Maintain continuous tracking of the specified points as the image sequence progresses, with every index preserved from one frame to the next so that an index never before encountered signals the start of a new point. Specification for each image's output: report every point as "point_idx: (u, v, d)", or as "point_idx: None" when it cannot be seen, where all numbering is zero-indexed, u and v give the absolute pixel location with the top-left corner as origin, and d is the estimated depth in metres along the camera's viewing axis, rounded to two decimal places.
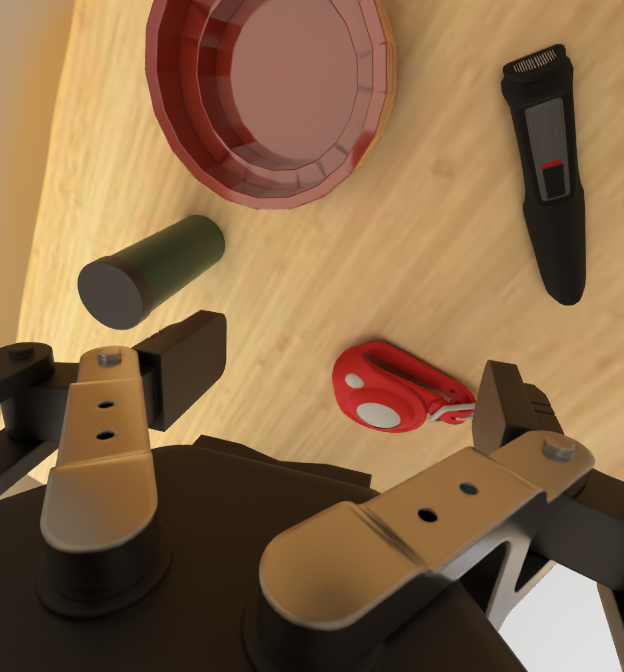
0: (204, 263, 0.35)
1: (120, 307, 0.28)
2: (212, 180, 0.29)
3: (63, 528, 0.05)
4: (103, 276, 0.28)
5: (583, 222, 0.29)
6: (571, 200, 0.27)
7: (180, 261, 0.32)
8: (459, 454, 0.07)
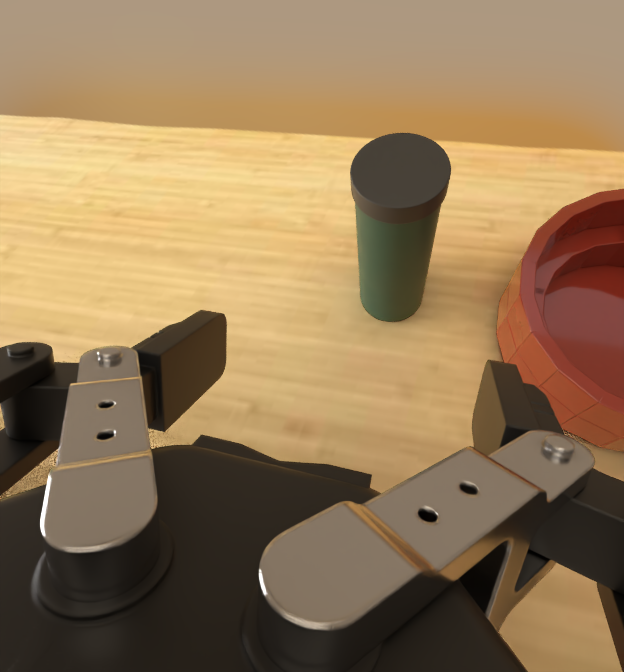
0: (397, 296, 0.28)
1: (392, 182, 0.21)
2: (532, 275, 0.25)
3: (63, 528, 0.05)
4: (427, 157, 0.21)
5: None
6: None
7: (421, 260, 0.25)
8: (459, 454, 0.07)
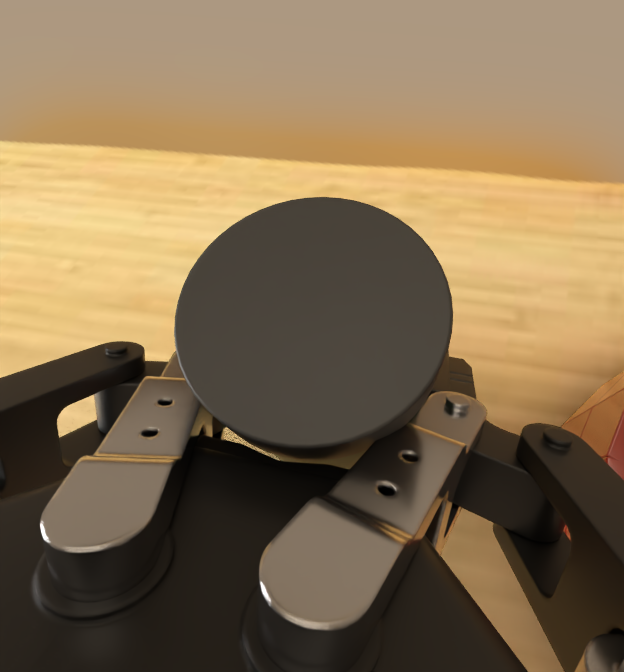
0: None
1: (283, 350, 0.07)
2: None
3: (63, 528, 0.05)
4: (385, 274, 0.08)
5: None
6: None
7: None
8: None
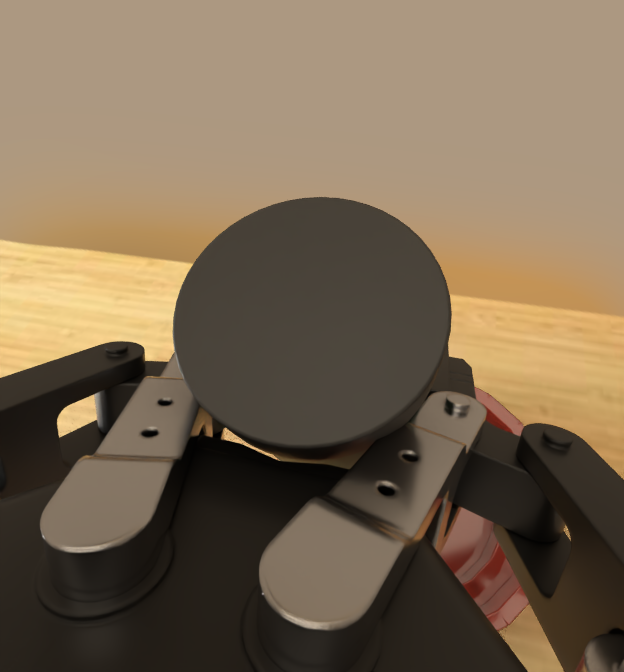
0: None
1: (281, 350, 0.07)
2: None
3: (63, 528, 0.05)
4: (384, 274, 0.08)
5: None
6: None
7: None
8: None
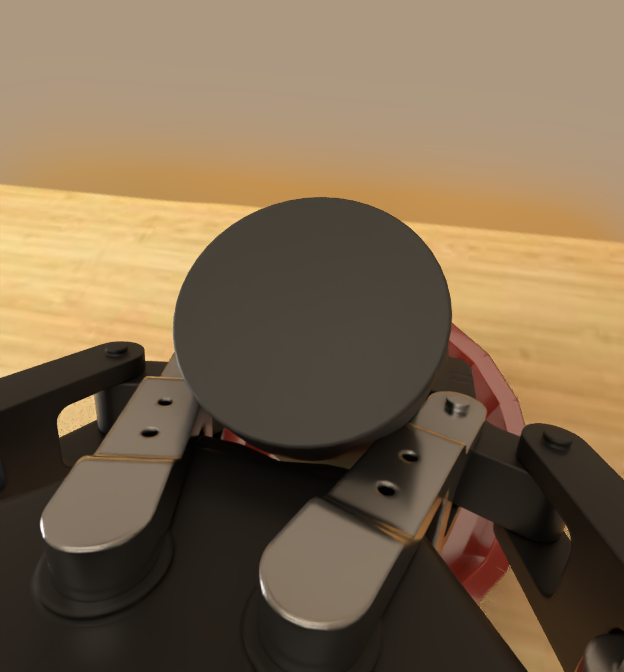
0: None
1: (282, 350, 0.07)
2: None
3: (63, 528, 0.05)
4: (384, 274, 0.08)
5: None
6: None
7: None
8: None
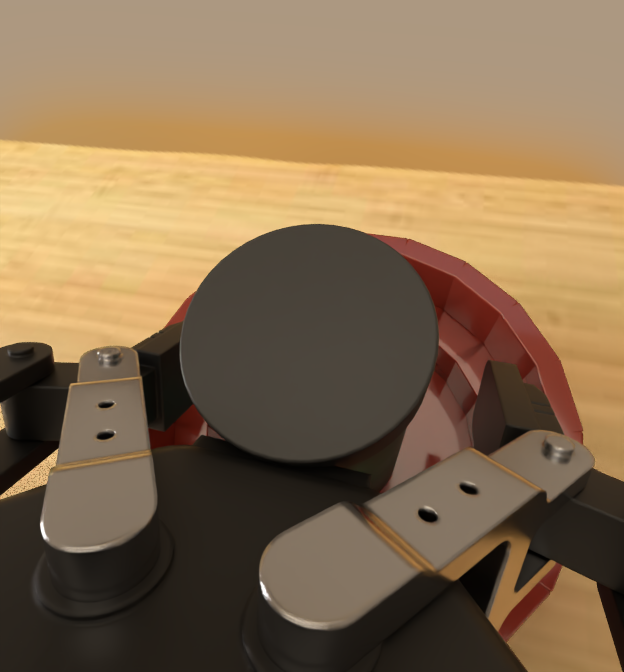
0: None
1: (281, 370, 0.08)
2: None
3: (63, 528, 0.05)
4: (377, 299, 0.08)
5: None
6: None
7: (380, 469, 0.12)
8: (459, 454, 0.07)
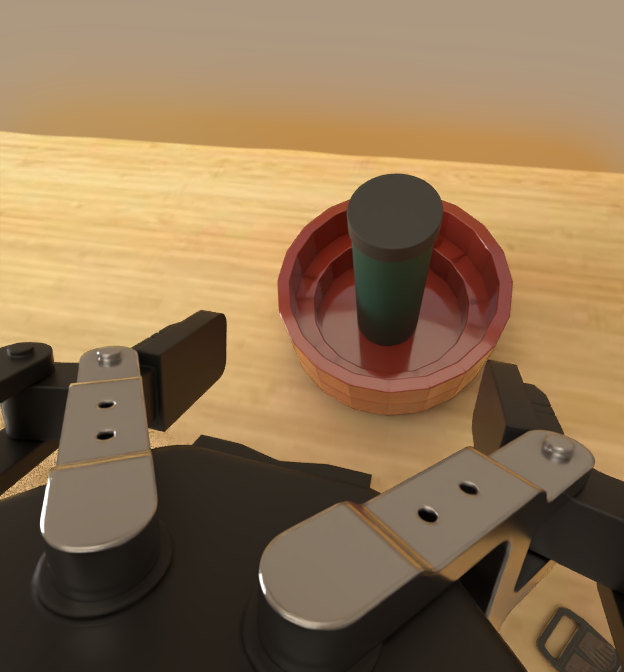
0: (393, 324, 0.29)
1: (387, 222, 0.22)
2: (291, 264, 0.30)
3: (63, 528, 0.05)
4: (420, 199, 0.22)
5: None
6: None
7: (415, 292, 0.26)
8: (459, 454, 0.07)
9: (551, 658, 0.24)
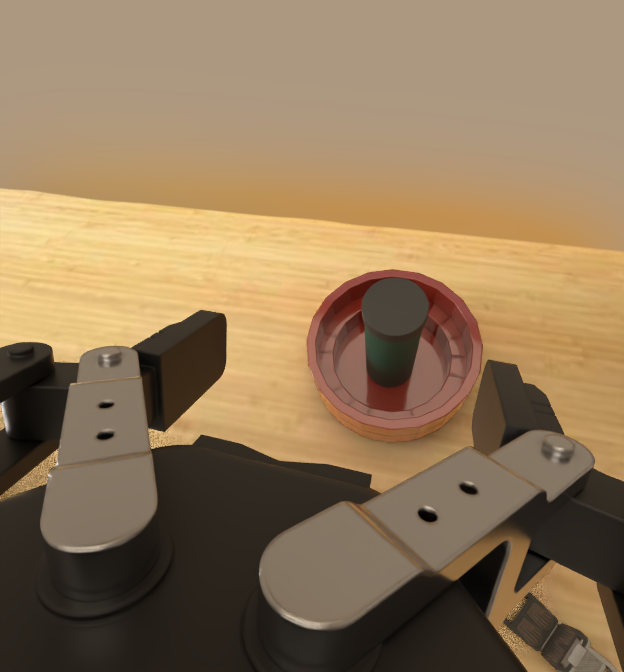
0: (394, 374, 0.38)
1: (390, 315, 0.31)
2: (316, 328, 0.39)
3: (63, 528, 0.05)
4: (413, 298, 0.32)
5: None
6: None
7: (410, 355, 0.36)
8: (459, 454, 0.07)
9: (507, 621, 0.34)
